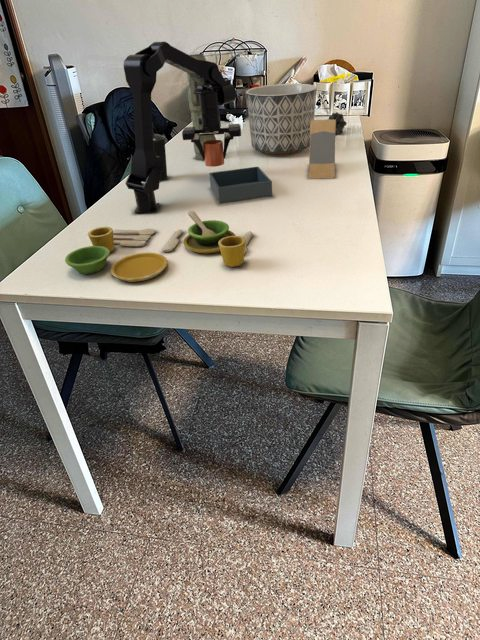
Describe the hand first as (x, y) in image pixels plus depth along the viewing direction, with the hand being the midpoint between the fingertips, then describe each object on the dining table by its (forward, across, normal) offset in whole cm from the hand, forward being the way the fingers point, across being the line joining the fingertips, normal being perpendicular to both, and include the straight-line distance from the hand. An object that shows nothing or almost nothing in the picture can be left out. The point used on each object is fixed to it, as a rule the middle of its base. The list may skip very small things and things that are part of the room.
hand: (214, 159), depth 149 cm
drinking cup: (+7, +20, -5) cm, 22 cm away
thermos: (+7, +5, -29) cm, 30 cm away
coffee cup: (+2, 0, 0) cm, 2 cm away
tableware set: (+7, +11, +56) cm, 57 cm away
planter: (+7, -25, -31) cm, 41 cm away
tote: (+7, -8, +15) cm, 18 cm away
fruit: (+7, -51, -55) cm, 75 cm away
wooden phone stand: (+7, -36, -1) cm, 37 cm away
